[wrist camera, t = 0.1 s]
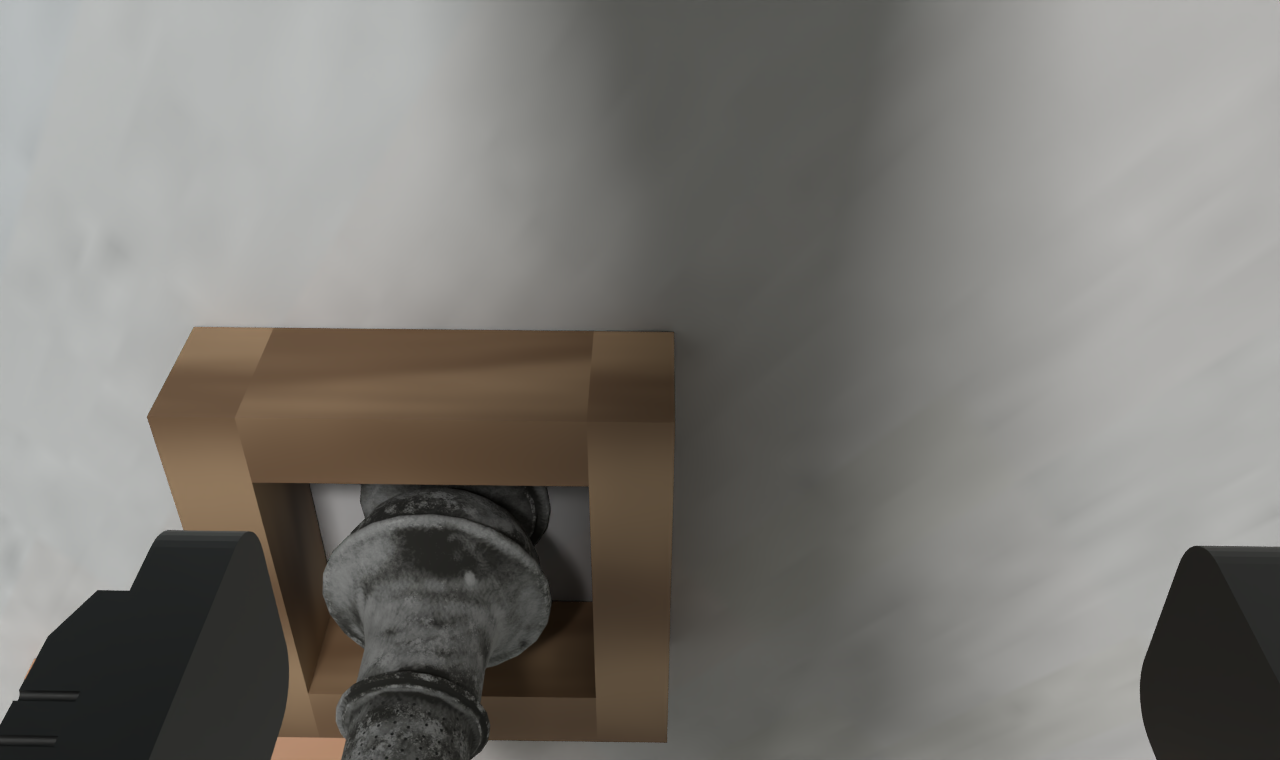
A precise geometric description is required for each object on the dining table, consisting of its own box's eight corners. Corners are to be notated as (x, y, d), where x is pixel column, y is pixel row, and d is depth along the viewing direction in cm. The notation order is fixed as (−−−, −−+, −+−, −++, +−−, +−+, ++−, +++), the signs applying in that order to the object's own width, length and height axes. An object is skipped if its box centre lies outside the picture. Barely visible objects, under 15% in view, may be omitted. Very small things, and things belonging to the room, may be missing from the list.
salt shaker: (426, 598, 36) (342, 1007, 27) (307, 468, 33) (166, 880, 24) (598, 536, 35) (573, 950, 25) (489, 392, 32) (416, 805, 22)
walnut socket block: (193, 327, 30) (147, 416, 28) (673, 332, 30) (674, 422, 27) (280, 641, 38) (250, 736, 35) (666, 646, 38) (667, 742, 35)
